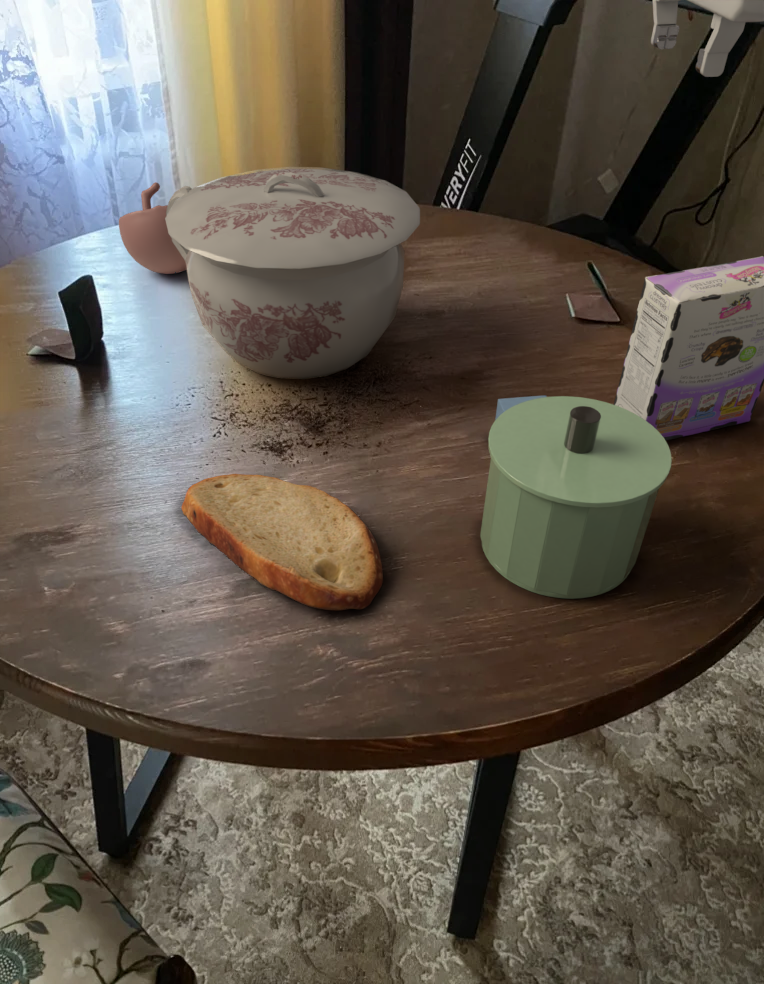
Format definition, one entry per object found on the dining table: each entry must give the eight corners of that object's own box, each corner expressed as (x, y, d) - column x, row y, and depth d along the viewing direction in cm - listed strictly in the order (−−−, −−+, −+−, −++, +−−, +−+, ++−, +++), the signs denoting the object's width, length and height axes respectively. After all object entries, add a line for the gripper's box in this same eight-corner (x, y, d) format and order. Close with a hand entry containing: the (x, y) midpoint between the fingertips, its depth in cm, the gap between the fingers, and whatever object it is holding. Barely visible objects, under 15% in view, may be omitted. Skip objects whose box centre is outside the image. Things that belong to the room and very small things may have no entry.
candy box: (716, 395, 94) (764, 253, 82) (750, 424, 89) (806, 278, 78) (607, 418, 90) (643, 272, 79) (638, 448, 86) (680, 300, 75)
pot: (602, 490, 81) (626, 398, 74) (658, 590, 71) (692, 495, 64) (465, 502, 80) (476, 410, 73) (503, 606, 70) (520, 511, 63)
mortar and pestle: (200, 246, 124) (190, 165, 116) (225, 279, 115) (216, 195, 108) (119, 260, 120) (103, 178, 112) (139, 295, 112) (123, 209, 104)
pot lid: (628, 400, 75) (638, 360, 72) (699, 505, 64) (714, 462, 62) (468, 413, 74) (473, 372, 71) (514, 521, 63) (521, 479, 60)
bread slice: (184, 488, 82) (178, 457, 79) (368, 479, 83) (368, 449, 80) (168, 627, 68) (161, 595, 66) (387, 614, 69) (389, 583, 67)
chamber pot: (451, 384, 95) (468, 201, 81) (215, 433, 88) (189, 241, 74) (364, 281, 115) (366, 119, 101) (165, 314, 108) (137, 145, 94)
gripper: (847, -134, 56) (778, 91, 66) (712, -153, 71) (671, 32, 81) (759, -132, 56) (701, 95, 65) (641, -152, 71) (608, 35, 80)
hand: (683, 60), depth 73 cm, fingers open, 8 cm apart
